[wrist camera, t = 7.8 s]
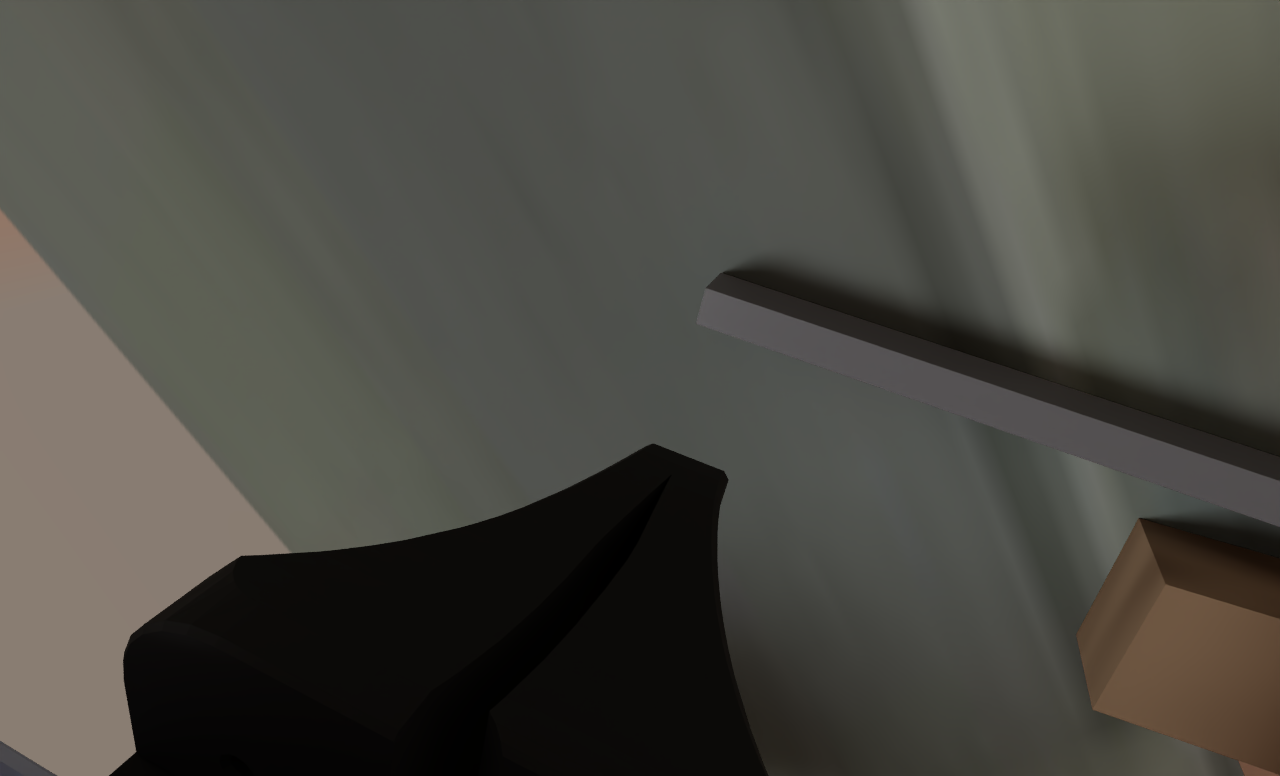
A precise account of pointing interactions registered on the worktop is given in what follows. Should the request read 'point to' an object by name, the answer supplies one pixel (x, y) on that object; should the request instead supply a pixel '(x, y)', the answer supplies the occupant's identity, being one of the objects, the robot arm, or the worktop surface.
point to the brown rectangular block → (1189, 643)
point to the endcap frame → (1002, 400)
